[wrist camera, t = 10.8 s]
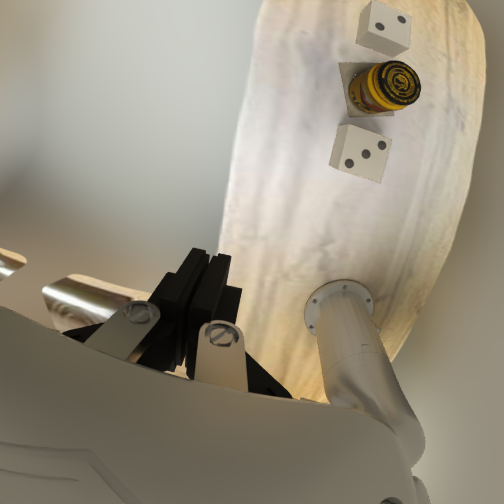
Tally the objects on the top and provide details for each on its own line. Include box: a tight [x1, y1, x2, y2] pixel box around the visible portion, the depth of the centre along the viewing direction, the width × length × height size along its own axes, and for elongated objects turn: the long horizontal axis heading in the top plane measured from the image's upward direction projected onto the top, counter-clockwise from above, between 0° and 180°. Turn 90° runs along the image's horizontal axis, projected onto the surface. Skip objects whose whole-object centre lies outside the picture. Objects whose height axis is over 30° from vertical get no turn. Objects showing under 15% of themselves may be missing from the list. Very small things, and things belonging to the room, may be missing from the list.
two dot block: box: [356, 0, 412, 58], centre depth 25 cm, size 6×6×6 cm
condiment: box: [338, 60, 421, 117], centre depth 26 cm, size 7×8×12 cm
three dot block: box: [329, 124, 392, 183], centre depth 33 cm, size 6×6×6 cm
